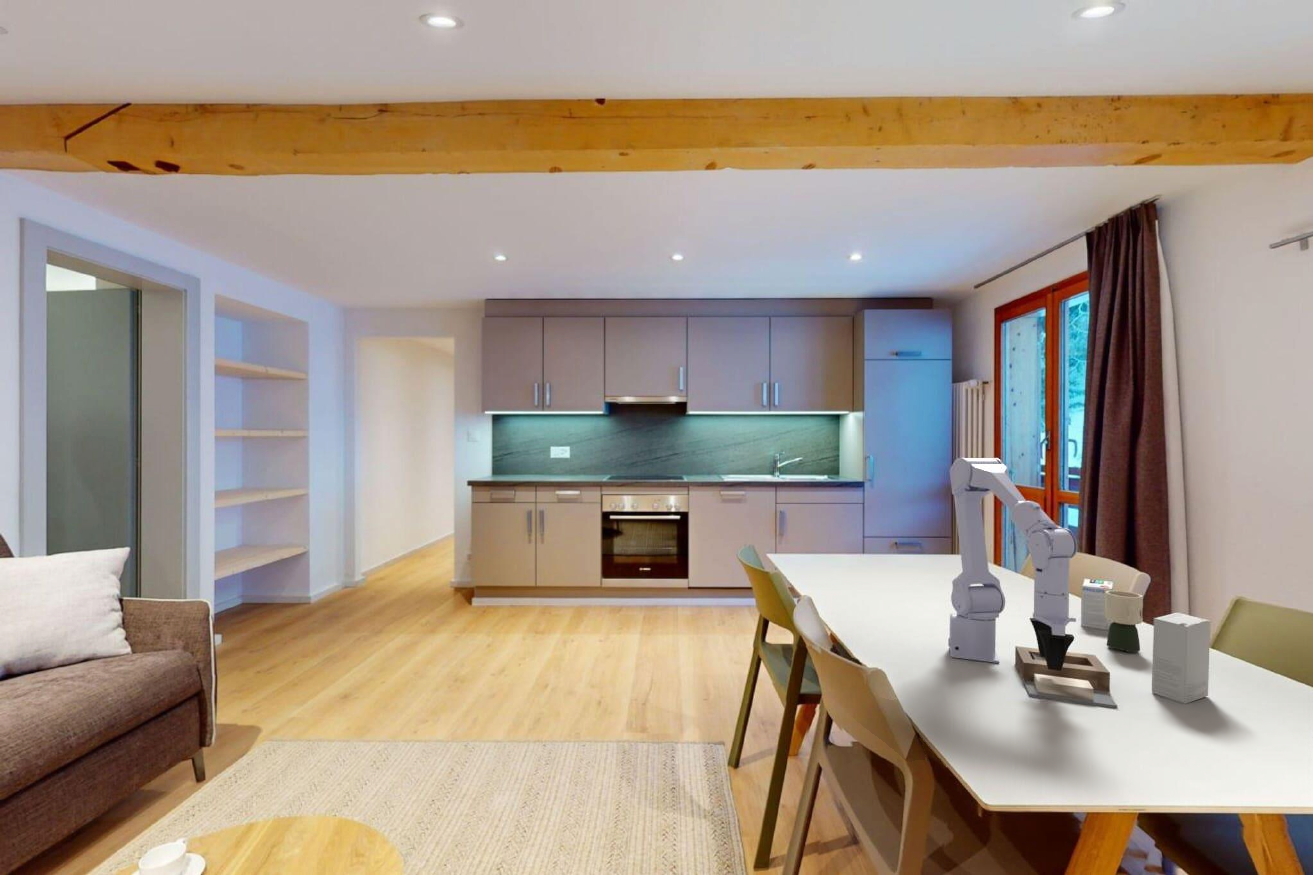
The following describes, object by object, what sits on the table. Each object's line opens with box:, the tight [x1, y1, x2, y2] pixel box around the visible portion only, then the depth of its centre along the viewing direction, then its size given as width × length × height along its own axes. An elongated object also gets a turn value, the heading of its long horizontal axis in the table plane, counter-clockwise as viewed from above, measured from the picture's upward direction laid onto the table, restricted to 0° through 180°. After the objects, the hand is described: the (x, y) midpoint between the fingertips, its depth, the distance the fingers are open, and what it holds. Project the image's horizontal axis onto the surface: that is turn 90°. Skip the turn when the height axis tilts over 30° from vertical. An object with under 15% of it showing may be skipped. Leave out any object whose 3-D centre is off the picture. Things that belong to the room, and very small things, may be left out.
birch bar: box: [1034, 674, 1094, 700], centre depth 125 cm, size 9×4×2 cm, turn 67°
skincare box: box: [1151, 612, 1211, 705], centre depth 125 cm, size 8×6×15 cm
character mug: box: [1105, 590, 1144, 653], centre depth 152 cm, size 11×7×13 cm, turn 163°
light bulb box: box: [1080, 578, 1114, 631], centre depth 174 cm, size 11×7×11 cm, turn 144°
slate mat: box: [1022, 680, 1118, 709], centre depth 125 cm, size 14×7×1 cm, turn 69°
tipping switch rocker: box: [1031, 654, 1046, 661], centre depth 134 cm, size 9×5×1 cm, turn 69°
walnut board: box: [1014, 645, 1111, 693], centre depth 134 cm, size 15×11×4 cm
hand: (1050, 662), depth 126 cm, fingers open, 7 cm apart
